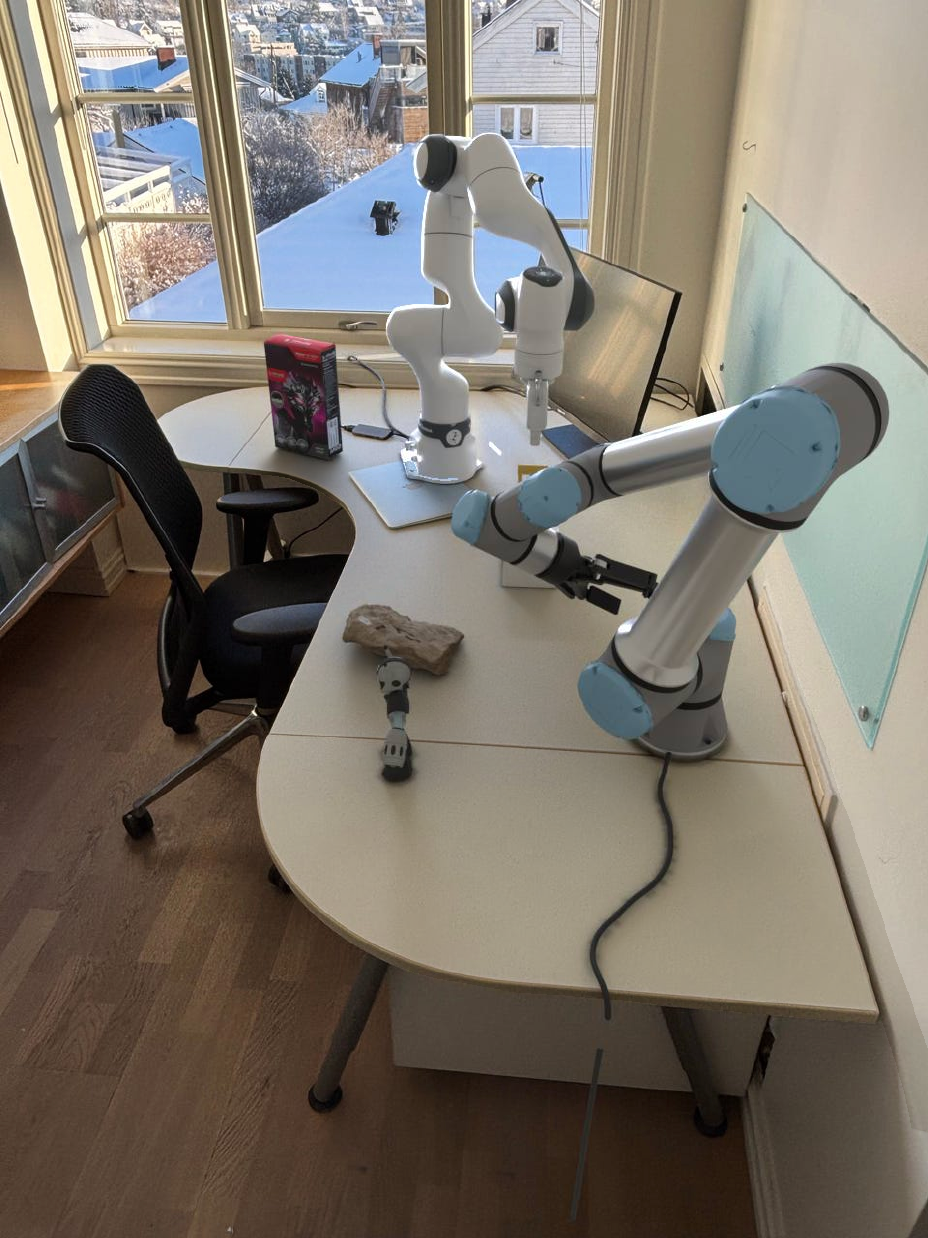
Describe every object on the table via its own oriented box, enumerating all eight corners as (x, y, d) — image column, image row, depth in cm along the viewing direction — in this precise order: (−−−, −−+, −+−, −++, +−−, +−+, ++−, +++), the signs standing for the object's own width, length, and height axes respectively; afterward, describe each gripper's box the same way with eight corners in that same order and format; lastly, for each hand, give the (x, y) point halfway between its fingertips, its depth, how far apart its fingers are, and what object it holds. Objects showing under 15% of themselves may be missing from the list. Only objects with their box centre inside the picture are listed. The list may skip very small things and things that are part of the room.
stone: (319, 650, 154) (325, 617, 152) (352, 620, 168) (359, 590, 165) (435, 691, 151) (444, 659, 148) (460, 657, 164) (468, 628, 162)
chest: (503, 546, 191) (505, 500, 185) (552, 548, 191) (556, 502, 185) (502, 586, 178) (504, 538, 172) (555, 588, 178) (558, 540, 172)
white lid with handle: (505, 498, 186) (506, 459, 181) (556, 500, 185) (558, 461, 181) (504, 538, 172) (505, 497, 167) (558, 540, 172) (561, 498, 167)
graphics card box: (273, 448, 231) (260, 339, 216) (289, 438, 236) (278, 332, 221) (329, 461, 225) (320, 351, 210) (345, 451, 230) (337, 342, 215)
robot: (414, 810, 128) (411, 698, 117) (379, 811, 128) (372, 699, 117) (414, 719, 145) (410, 613, 133) (382, 720, 144) (377, 613, 133)
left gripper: (557, 382, 159) (552, 457, 167) (554, 345, 176) (549, 414, 184) (520, 381, 159) (517, 456, 167) (521, 345, 176) (518, 414, 184)
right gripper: (604, 519, 129) (708, 577, 138) (505, 540, 150) (602, 589, 160) (590, 568, 127) (696, 623, 137) (492, 582, 148) (591, 629, 158)
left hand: (534, 434), depth 176 cm, fingers open, 8 cm apart
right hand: (646, 605), depth 148 cm, fingers open, 13 cm apart
